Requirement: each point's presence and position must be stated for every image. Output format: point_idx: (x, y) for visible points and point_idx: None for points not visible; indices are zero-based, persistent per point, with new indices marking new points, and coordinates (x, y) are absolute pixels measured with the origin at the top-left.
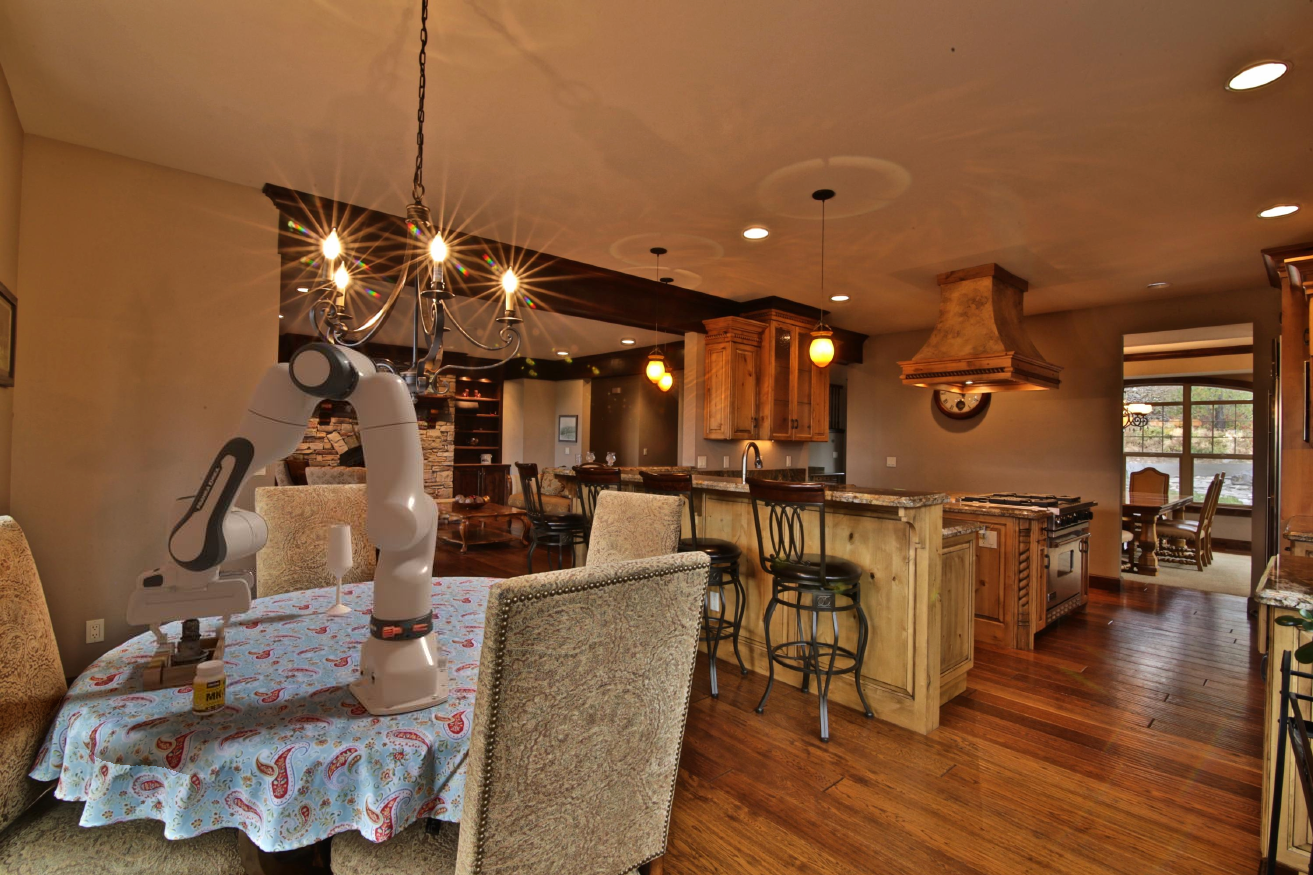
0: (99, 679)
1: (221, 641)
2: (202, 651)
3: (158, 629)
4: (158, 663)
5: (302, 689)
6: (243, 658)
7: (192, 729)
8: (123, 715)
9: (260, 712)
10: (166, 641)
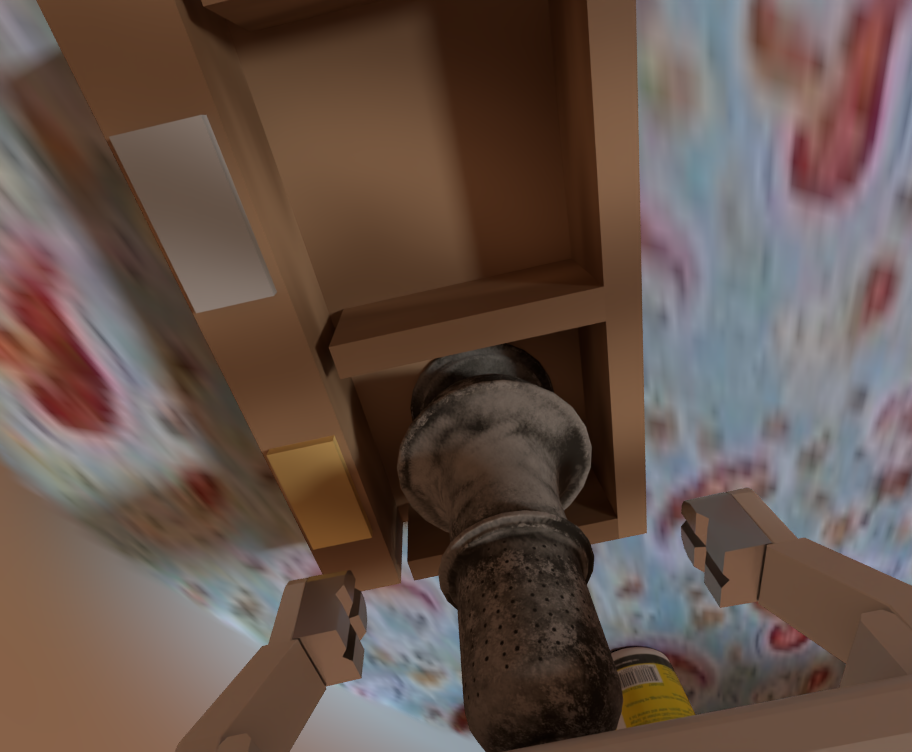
0: (5, 349)
1: (621, 100)
2: (565, 472)
3: (268, 713)
4: (354, 529)
5: None
6: (715, 165)
7: None
8: (393, 669)
9: (759, 692)
10: (353, 588)
